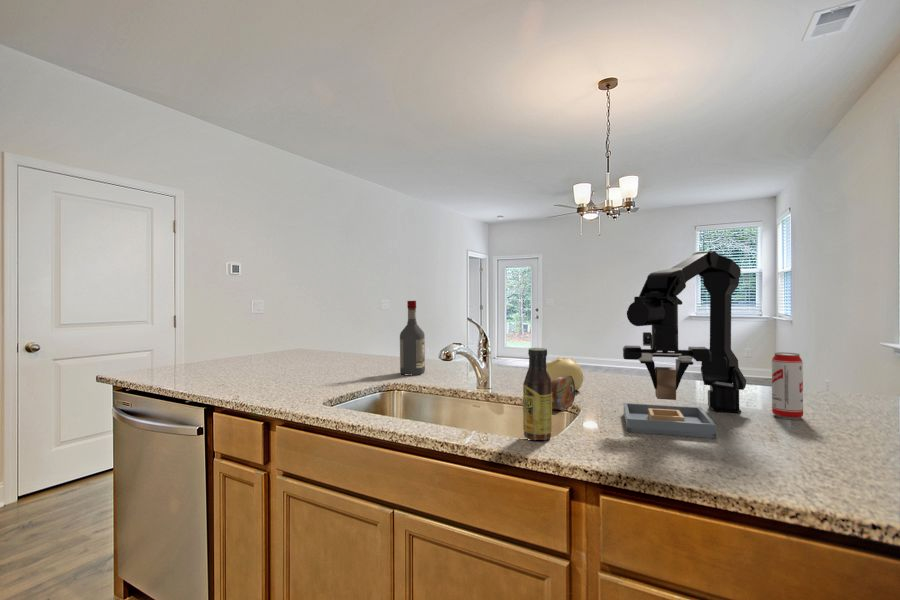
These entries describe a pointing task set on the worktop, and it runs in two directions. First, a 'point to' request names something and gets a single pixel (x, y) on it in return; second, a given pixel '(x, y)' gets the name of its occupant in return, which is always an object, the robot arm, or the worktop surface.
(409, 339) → the liquor
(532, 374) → the sauce bottle
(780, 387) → the beer can
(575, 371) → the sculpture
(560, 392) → the tin
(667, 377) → the brown rectangular block
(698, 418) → the box
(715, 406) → the robot arm
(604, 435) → the worktop surface
